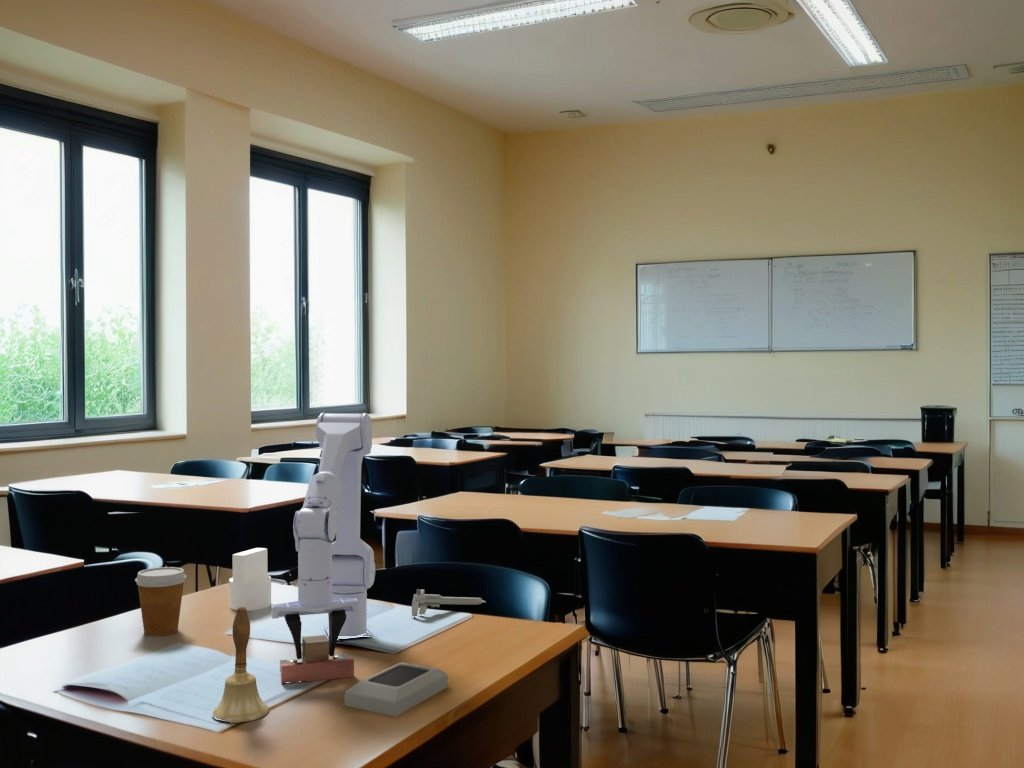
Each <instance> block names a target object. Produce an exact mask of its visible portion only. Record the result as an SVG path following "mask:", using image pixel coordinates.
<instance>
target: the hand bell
mask: <svg viewBox="0 0 1024 768" xmlns="http://www.w3.org/2000/svg"><path fill="white" fill-rule="evenodd" d="M235 613H236V614H235V616H234V619H233V623H232V639H233V644H234V647H235V660H234V661H235V662H234V663H235V664H234V666H235V667H234V673H233V674H231V675H229V676H228V677H226V679H225V680H224V681H225V682H224V689H223V694H222V697H221V700H220V702H219V704H218V706H216V707H215V708H214V709H213V711H212V713H213V716H214V717H216V718H218V719H221V720H225V721H227V722H230V724H233V723H234V724H238V723H244V722H252V721H255V720H258V719H260V718H262V717H265V716H266V715H267V714H268V713H269V711H270V708H269V706H268V704H267V703H266V702H264V701H263V699H262V698H261V696H260V693H259V690H258V685H257V679H256V676H255V675H253V674H251V673H249V672H248V671H247V667H248V666H247V663H248V662H247V647H248V644H249V640H250V636H251V622H250V619H249V615H248V611H246V608H245V607H240V608H238V609H237V610H236V612H235Z"/></svg>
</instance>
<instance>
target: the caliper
mask: <svg viewBox="0 0 1024 768" xmlns="http://www.w3.org/2000/svg"><path fill="white" fill-rule="evenodd" d="M483 603H484V604H485V603H487V601H486V600H483V598H481V597H467V596H466V597H465V596H464V597H463V596H460V597H459V596H458V597H457V596H442V595H440V594H431V593H430V594H428V593H426V594H425V589H420V588H419V589H418V588H417V589H416V593H414V594H413V598H412V601H411V617H412V616H414V617H415V616H417V617H418V615H419V614H421V615H422V614H424V615H425V613H426V611H427V609H428V607H430V608H433V609H434V608H438V609H439V608H440V606H441V605H465V606H467V605H469V606H471V605H472V606H477V605H481V604H483Z"/></svg>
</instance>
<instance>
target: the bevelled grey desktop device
mask: <svg viewBox="0 0 1024 768" xmlns="http://www.w3.org/2000/svg"><path fill="white" fill-rule="evenodd" d="M446 687H447V688H448V687H449V675H448V674H447V673H446V672H445V671H443V670H441V669H439V668H435V667H430V666H425V665H420V664H415V663H408V662H404V661H401V662H398V663H396V664H395V665H392V666H390V667H388V668H386V669H383V670H382V671H380V672H377V673H375V674H373V675H371V676H368V677H366V678H365V679H363V680H360V681H358V682H357V683H355V684H354V685H353V686H351V687H350V688H348V689H346V691H344V707H348V708H349V707H350V708H354V709H360V710H363V711H368V712H373V713H378V714H382V715H387V716H392V717H397V716H399V715H401V714H403V713H405V712H406V711H407V710H409V709H411V708H413V707H414V706H417V705H419V704H420V703H422V702H425V700H428V699H429V698H431V697H433V696H434V695H436V694H438V693H440V692H441V691H444V690H445V689H447V688H446ZM444 688H445V689H444ZM439 691H440V692H439Z"/></svg>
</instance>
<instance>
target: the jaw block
mask: <svg viewBox="0 0 1024 768" xmlns="http://www.w3.org/2000/svg"><path fill="white" fill-rule="evenodd" d="M301 650H302V659H301V662H308V661H319V660H329V659H330V655H329V637H328V636H327V634H322V635H320V634H319V635H309V636H301Z"/></svg>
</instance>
